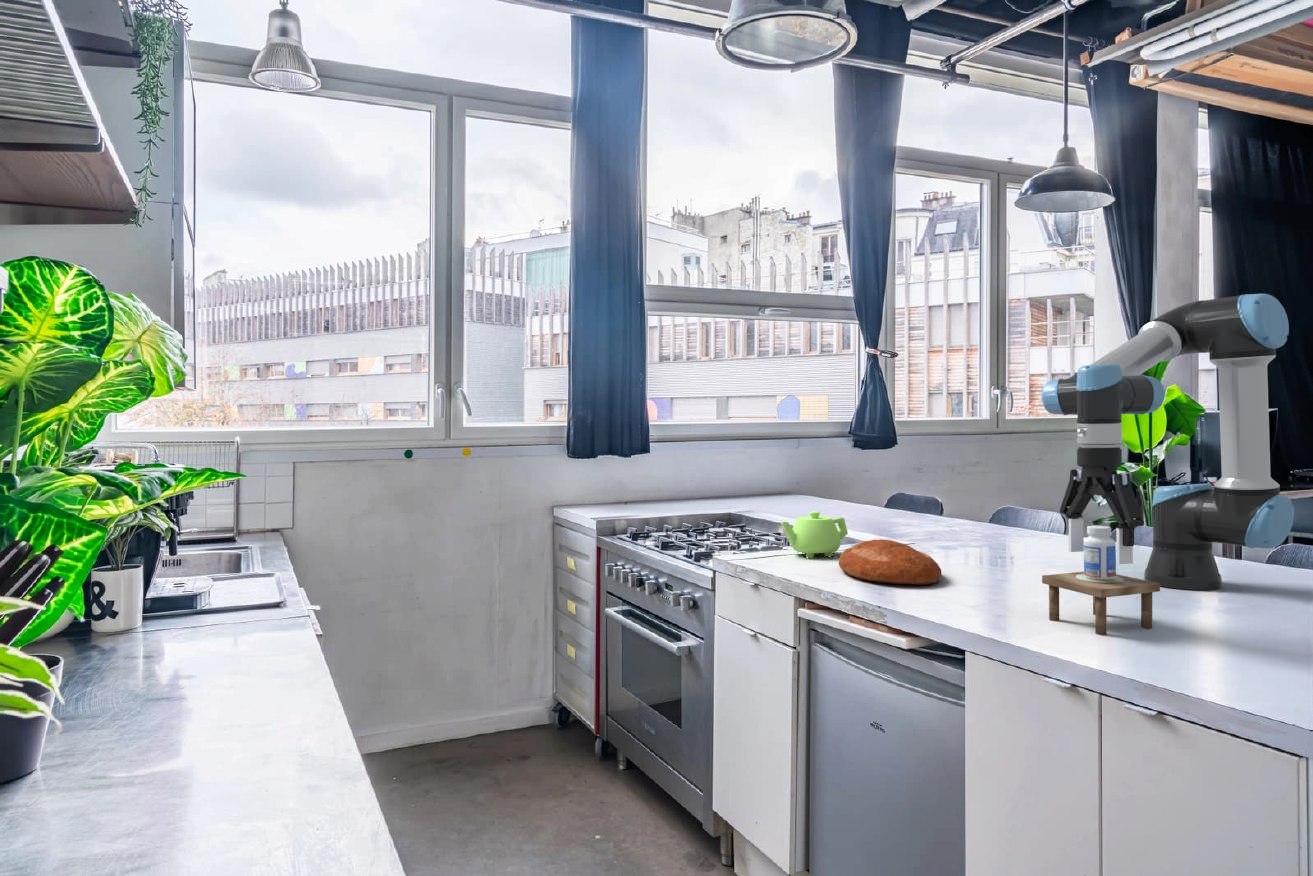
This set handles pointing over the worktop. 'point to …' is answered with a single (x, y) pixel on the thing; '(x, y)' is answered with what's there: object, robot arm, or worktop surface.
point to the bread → (889, 563)
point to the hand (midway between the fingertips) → (1099, 557)
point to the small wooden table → (1101, 595)
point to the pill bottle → (1099, 554)
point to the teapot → (816, 534)
